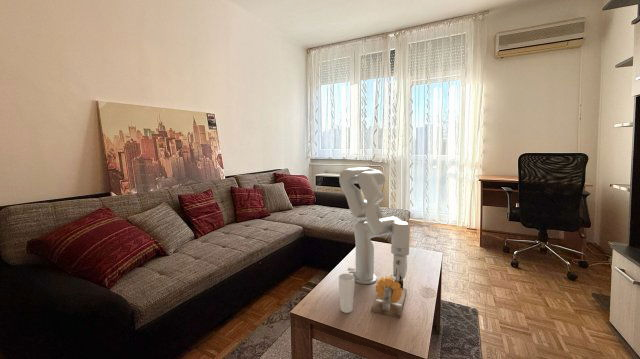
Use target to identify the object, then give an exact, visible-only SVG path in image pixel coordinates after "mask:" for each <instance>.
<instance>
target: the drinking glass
mask: <svg viewBox="0 0 640 359" xmlns="http://www.w3.org/2000/svg"><path fill="white" fill-rule="evenodd" d="M355 283H356V281H355V279H354V276H353V274H352V273H340V275H339V276H338V294H339V305H340V306H339V309H340V311H341V312H342V313H345V314H350V313H352V312H353V310H354V309H353V308H354V298H355V297H354V295H355V286H356V284H355Z"/></svg>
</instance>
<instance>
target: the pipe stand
mask: <svg viewBox="0 0 640 359" xmlns="http://www.w3.org/2000/svg"><path fill="white" fill-rule="evenodd" d="M389 277H392V278H393V281H394V280H396V276H395V277H394V276H393V272H391V273H390V275H389ZM384 290H385V291H384V293H383V298H382V300H381V299H380V298H379V297H378V296H377V295H376V296H375V298H374V299H373V300H374V301H373V303H372V306H371V308H370V311H371V312H372V313H375V314H381V315H385V316H388V315H389V317H394V318H397V319H401V317H402V312H403V308H404V305H405V304H404V303H405V299H406V296H407V288H404V287H403V290H402V296H401V298H400V300H399V301H397V302H396V303H394V302H393V301H392V304H391V303H390V300H391V293H392V292H393V290H392V289H391V287H387V286H386V287H385V288H384Z"/></svg>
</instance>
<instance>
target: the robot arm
mask: <svg viewBox="0 0 640 359" xmlns="http://www.w3.org/2000/svg"><path fill="white" fill-rule="evenodd" d="M338 179H339V180H338V181H339V185H340V188H341V190H342V192H343V193H344V196H345V198H346V201H347V205H348V207H349V208H348V209H349V210H350V213H351V216H352V218H354V219H357V220H358V219H359V221H357V222H355V224H354V226H353V233H354V241H355V242H354V243H355V267H354V268H352V267H348V268H347V271H348V274H351V275H353V276H354V279H355V283H358V284H361V285H370V284H374V283H376V281H378V280H377V274H375V266H374V264H375V245H374V243H373V241H372V240H371V239H373V238H376V237H382V236H386V235H391V242H390V243H391V244H390V245H391V246H390V247H391V249H390V251H391V252H390V253H391V254H393V260H392V261H393V262H392V264H393V265H392V266H393V268H392V270H393V271H392V273H393V276H394V277H395V276H396V281H398V282H399V284H400V285H401V287H400V288H402V290H403V288H404V279H405V278H406V277H407V272H408V256H409V254H410V239H411V238H410V237H411V236H410V234H411V233H410V232H411V230H410V229H411V226H410V222H408V221H406V220H405V221H404V220H402V219H400V218H398V217H396V216H385V217H384V215H383V213H382V210H381V208H380V205H379V203H381V202H382V201H383V200H384V196H385V195H384V193H383V192H382V189H381V187H383V186H384V185H385V183H386V176H385V175H384V173H383V172H382V171H380V170H379V169H375V168H371V167H367V166H366V167H365V166H364V167H363V166H362V167H349V168H345V169H343V170H341V172H340V173H339V177H338ZM355 184H358V185H359V187H357V186H356V185H355ZM359 188H360V189H359ZM362 194H363V195H362ZM364 198H365V199H364ZM360 219H363V220H360Z"/></svg>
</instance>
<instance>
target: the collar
mask: <svg viewBox="0 0 640 359" xmlns="http://www.w3.org/2000/svg"><path fill="white" fill-rule="evenodd" d="M386 286H387V287H391V289H392V290H393V292H392V293H391V300H390V303H391V304H392V301H393V302H394V303H396V302H397V301H399V300H400V298H401V296H402V288H400V287H401V285H400V284H399V282H398V281H396V280H394V281H393V278H392V277H390V276H385V277H381V278H379V279H378V280H377V282H375V293H376V296H378V297H379V298H380V299H381V300H382V298H383V293H384V291H385V290H384V288H385V287H386Z"/></svg>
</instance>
